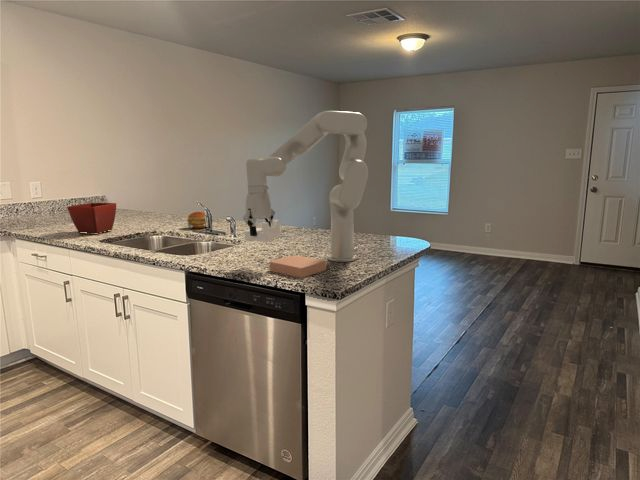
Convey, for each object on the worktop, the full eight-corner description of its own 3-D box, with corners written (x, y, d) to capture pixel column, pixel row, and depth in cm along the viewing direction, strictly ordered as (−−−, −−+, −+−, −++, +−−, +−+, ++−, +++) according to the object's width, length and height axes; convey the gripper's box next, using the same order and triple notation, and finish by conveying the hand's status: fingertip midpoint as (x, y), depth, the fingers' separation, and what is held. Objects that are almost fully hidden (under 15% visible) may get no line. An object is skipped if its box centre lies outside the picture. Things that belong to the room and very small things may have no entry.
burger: (214, 227, 279) (213, 211, 277) (198, 230, 268) (197, 214, 266) (199, 225, 286) (198, 210, 284) (182, 228, 275) (181, 212, 273)
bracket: (280, 238, 177) (279, 220, 176) (268, 242, 172) (266, 223, 170) (257, 236, 185) (255, 218, 184) (244, 239, 180) (243, 221, 178)
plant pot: (69, 234, 259) (66, 206, 256) (94, 229, 277) (91, 202, 273) (96, 236, 253) (92, 206, 250) (120, 230, 271) (117, 203, 268)
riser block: (294, 264, 184) (294, 255, 183) (325, 270, 173) (325, 260, 172) (269, 271, 174) (269, 261, 173) (301, 278, 163) (301, 268, 162)
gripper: (267, 187, 184) (270, 229, 188) (234, 192, 171) (238, 237, 175) (280, 188, 179) (282, 231, 183) (247, 192, 166) (250, 239, 170)
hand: (260, 233), depth 179 cm, fingers closed on bracket, 7 cm apart
